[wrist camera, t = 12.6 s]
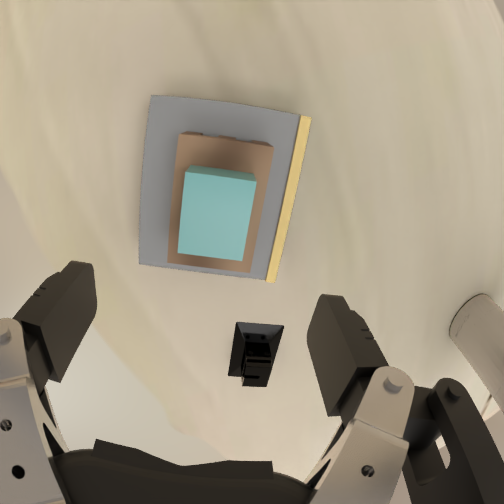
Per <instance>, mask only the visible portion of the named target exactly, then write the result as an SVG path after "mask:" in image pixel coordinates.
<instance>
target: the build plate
mask: <svg viewBox="0 0 504 504" xmlns="http://www.w3.org/2000/svg"><path fill="white" fill-rule="evenodd" d="M283 329H284V326H283V325H270V324H257V323H245V322H236V327H235V333H234V339H233V346H232V352H231V359H230V365H229V372H228V376H236V377H241V381H242V386H251V387H267V383H268V380H269V377H270V374H271V370H272V366H273V363H274V360H275V356H276V353H277V350H278V346H279V343H280V339H281V336H282V333H283Z"/></svg>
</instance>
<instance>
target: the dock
mask: <svg viewBox="0 0 504 504" xmlns="http://www.w3.org/2000/svg"><path fill="white" fill-rule="evenodd" d="M311 120H312V118H310V117H306V116H302V115H297V114H292V113H287V112H282V111H277V110H272V109H267V108H261V107H256V106H250V105H243V104H237V103H230V102H223V101H215V100H206V99H197V98H186V97H174V96H158V95H151V100H150V106H149V114H148V121H147V129H146V138H145V147H144V157H143V168H142V182H141V198H140V220H139V264H142V265H149V266H156V267H164V268H171V269H179V270H187V271H194V272H202V273H210V274H218V275H227V276H235V277H244V278H252V279H261V280H265V281H266V282H272V283H275V281H276V277H277V273H278V268H279V264H280V260H281V256H282V252H283V248H284V243H285V239H286V235H287V231H288V226H289V222H290V218H291V213H292V209H293V204H294V200H295V195H296V191H297V186H298V182H299V177H300V173H301V168H302V163H303V159H304V154H305V149H306V145H307V140H308V135H309V130H310V125H311ZM186 131H189V132H198V133H203V135H204V136H212V137H218V136H219V135H222V136H229V137H236V140H241V141H247V142H251V141H252V140H255V141H261V142H267V143H269V144H270V145H272V146H273V147H274V152H273V158H272V163H271V168H270V173H269V178H268V183H267V188H266V193H265V199H264V204H263V209H262V214H261V219H260V224H259V229H258V234H257V239H256V245H255V250H254V255H253V260H252V265H251V270H250V273H245V272H236V271H228V270H220V269H212V268H204V267H196V266H188V265H180V264H173V263H167V255H168V238H169V224H170V211H171V199H172V189H173V179H174V170H175V161H176V153H177V145H178V137H179V134H181V133H183V132H186Z"/></svg>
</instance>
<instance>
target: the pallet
mask: <svg viewBox="0 0 504 504" xmlns="http://www.w3.org/2000/svg"><path fill="white" fill-rule="evenodd" d="M273 152H274V147H273V146H272V145H270V144H269V143H267V142H261V141H255V140H252V141H251V142H247V141H241V140H236V137H229V136H222V135H219V136H218V137H212V136H204V135H203V133H198V132H189V131H186V132H183V133H181V134H179V137H178V145H177V153H176V161H175V170H174V179H173V189H172V199H171V211H170V224H169V238H168V255H167V263H173V264H180V265H188V266H196V267H204V268H212V269H220V270H228V271H236V272H245V273H250V270H251V265H252V260H253V255H254V250H255V245H256V239H257V234H258V229H259V224H260V219H261V214H262V209H263V204H264V199H265V193H266V188H267V183H268V178H269V173H270V168H271V163H272V158H273ZM190 165H195V166H203V167H211V168H219V169H226V170H233V171H240V172H246V173H253V174H254V176H255V178H256V181H257V183H256V189H255V194H254V199H253V205H252V210H251V216H250V221H249V227H248V232H247V237H246V243H245V248H244V254H243V259H242V261H237V260H229V259H221V258H214V257H206V256H198V255H190V254H183V253H178V241H179V229H180V218H181V207H182V198H183V188H184V180H185V172H186V171H187V169H188V168H189V167H190Z"/></svg>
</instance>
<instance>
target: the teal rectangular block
mask: <svg viewBox="0 0 504 504" xmlns="http://www.w3.org/2000/svg"><path fill="white" fill-rule="evenodd" d="M256 183H257V181H256V178H255V176H254V174H253V173H246V172H240V171H233V170H226V169H219V168H211V167H203V166H195V165H190V167H189V168H188V169H187V171H186V172H185V180H184V188H183V198H182V207H181V218H180V229H179V241H178V253H183V254H190V255H198V256H206V257H214V258H221V259H229V260H237V261H242V259H243V254H244V248H245V243H246V237H247V232H248V227H249V221H250V216H251V210H252V205H253V199H254V194H255V189H256Z"/></svg>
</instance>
